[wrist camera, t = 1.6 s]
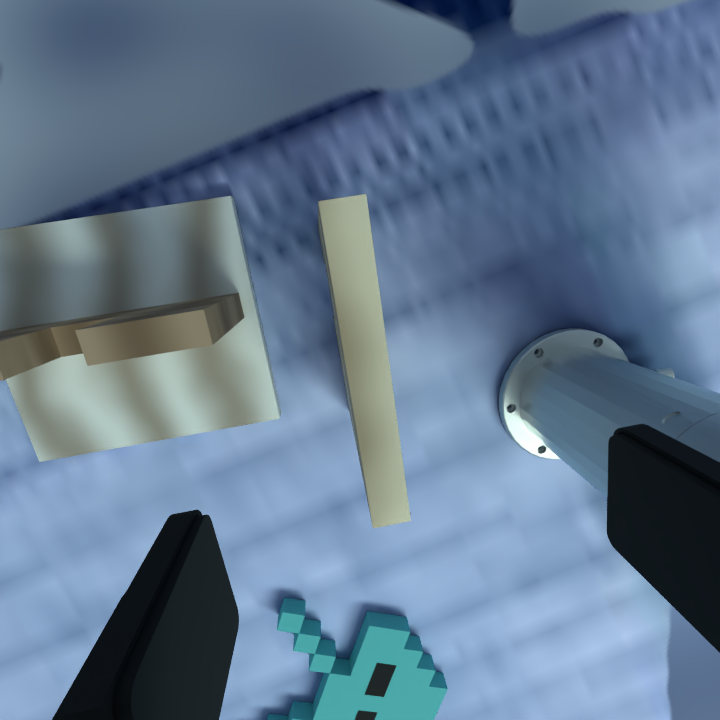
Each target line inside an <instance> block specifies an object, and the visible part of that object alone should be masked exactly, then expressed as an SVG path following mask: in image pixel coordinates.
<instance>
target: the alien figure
mask: <svg viewBox="0 0 720 720" xmlns="http://www.w3.org/2000/svg"><path fill="white" fill-rule="evenodd" d="M304 617H305V601H304V600H298V599H292V598H286V597H284V599H283V603H282V606H281V609H280V612H279V616H278V626H277V630H278V631H285V632H292V633H295V634H294V648H293V651H298V652H305V653H310V654H309V671H315V672H323V676H322V679H321V682H320V685H319V687H318V690H317V693H316V696H315V699H314V701H313V703H307V702H298V701H293V703H292V706H291V709H290V712H289V715H288V716H285V715H276V714H268V717H267V720H434V718H435V716H436V714H437V711H438V709H439V707H440V705H441V703H442V700H443V698H444V696H445V694H446V691H447V685H446V682H445V679H444V675H443V673H440V672H435V671H436V670H435V667H434V663H433V660H432V656H431V655H428V654H423V649H422V645H421V641H420V638H419V636H413V635H409V634H410V629H409V625H408V620H407V617H402V616H396V615H390V614H384V613H378V612H372V611H367V613H366V616H365V618H364V621H363V624H362V626H361V629H360V632H359V634H358V637H357V640H356V643H355V645H354V648H353V651H352V653H351V656H350V659H349V660H348V659H340V658H336V649H335V641H333V640H326V639H320V637H321V621H316V620H310V619H304Z"/></svg>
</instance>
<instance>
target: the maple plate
mask: <svg viewBox="0 0 720 720" xmlns="http://www.w3.org/2000/svg"><path fill="white" fill-rule="evenodd" d="M318 229H319V235H320V241H321V246H322V252H323V258H324V263H325V265H326V271H327V277H328V283H329V289H330V294H331V300H332V306H333V312H334V316H333V317H334V323H335V329H336V335H337V340H338V346H339V352H340V358H341V364H342V370H343V376H344V382H345V387H346V393H347V399H348V405H349V411H350V416H351V421H352V426H353V431H354V436H355V441H356V446H357V451H358V456H359V461H360V466H361V471H362V476H363V481H364V486H365V491H366V496H367V501H368V506H369V511H370V516H371V521H372V526H373V528H377V527H383V526H388V525H393V524H398V523H403V522H408V521H411V519H410V511H409V504H408V497H407V489H406V482H405V475H404V467H403V460H402V453H401V445H400V438H399V431H398V423H397V416H396V409H395V401H394V394H393V387H392V379H391V372H390V365H389V358H388V350H387V343H386V336H385V328H384V321H383V314H382V306H381V299H380V292H379V284H378V277H377V270H376V262H375V255H374V248H373V240H372V233H371V226H370V218H369V211H368V204H367V196H366V194H363V195H357V196H350V197H343V198H336V199H330V200H323V201H318Z"/></svg>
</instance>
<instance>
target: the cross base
mask: <svg viewBox="0 0 720 720" xmlns="http://www.w3.org/2000/svg"><path fill="white" fill-rule="evenodd" d="M5 379H6V381H7V384H8V386H9V388H10V391H11V393H12V396H13V398H14V401H15V403H16V406H17V408H18V410H19V413H20V415H21V418H22V420H23V423H24V425H25V427H26V430H27V432H28V435H29V437H30V440H31V442H32V445H33V447H34V449H35V452H36V454H37V457H38V459H39V462H42V461H47V460H53V459H59V458H64V457H70V456H75V455H81V454H86V453H92V452H97V451H103V450H109V449H114V448H120V447H125V446H131V445H136V444H142V443H147V442H153V441H159V440H164V439H170V438H175V437H181V436H186V435H192V434H197V433H203V432H209V431H214V430H220V429H225V428H231V427H236V426H242V425H247V424H253V423H259V422H264V421H270V420H275V419H280V416H281V410H280V406H279V401H278V397H277V392H276V388H275V383H274V378H273V374H272V369H271V365H270V360H269V356H268V351H267V347H266V342H265V338H264V333H263V328H262V324H261V319H260V315H259V310H258V306H257V301H256V297H255V292H254V288H253V283H252V279H251V274H250V269H249V265H248V260H247V256H246V251H245V247H244V242H243V238H242V233H241V229H240V224H239V219H238V215H237V210H236V206H235V201H234V198H233V197H231V196H226V197H219V198H212V199H206V200H199V201H192V202H185V203H178V204H171V205H165V206H158V207H151V208H144V209H137V210H130V211H123V212H117V213H110V214H103V215H96V216H89V217H82V218H76V219H69V220H62V221H55V222H48V223H41V224H35V225H28V226H21V227H14V228H7V229H0V381H1V380H5Z"/></svg>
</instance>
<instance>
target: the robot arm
mask: <svg viewBox="0 0 720 720" xmlns="http://www.w3.org/2000/svg"><path fill="white" fill-rule="evenodd" d="M535 350H536V352H535ZM534 352H535V353H534ZM508 405H509V406H508ZM507 406H508V407H507ZM499 412H500V417H501V421H502V423H503V425H504V427H505V430H506V431H507V433H508V434H509V435H510V437H511V438H512V439H513V440H514V441H515V442H516V443H517V444H518V445H519V446H520V447H521V448H523V449H524V450H526V451H527V452H529V453H531V454H533V455H535V456H538V457H542V458H547V459H561V460H563V461H564V462H565V463H566V464H567V465H569V466H570V467H571V468H572V469H573V470H575V471H576V472H577V473H578V474H579V475H580V476H582V477H583V478H584V479H585V480H586V481H588V482H589V483H590V484H591V485H592V486H594V487H595V488H596V489H597V490H598V491H599V492H601V493H602V494H603V495H604V496H605V497H607V535H608V538H609V540H610V543H611V544H612V546H613V547H614V548H615V549H616V550H617V551H618V552H619V553H620V554H621V555H622V556H623V557H624V558H625V559H626V560H627V561H628V562H629V563H630V564H631V565H632V566H633V567H634V568H635V569H636V570H637V571H638V572H639V573H640V574H641V575H642V576H643V577H644V578H645V579H646V580H647V581H648V582H649V583H650V584H651V585H652V586H653V587H654V588H655V589H656V590H657V591H658V592H659V593H660V594H661V595H662V596H663V597H664V598H665V599H666V600H667V601H668V602H669V603H670V604H671V605H672V606H673V607H674V608H675V609H676V610H677V611H678V612H679V613H680V614H681V615H682V616H683V617H684V618H685V619H686V620H687V621H688V622H689V623H690V624H692V626H693V627H694V628H695V629H696V630H698V632H699V633H700V634H701V635H702V636H703V637H705V639H706V640H707V641H708V642H709V643H710V644H712V645H713V646H714V647H715V648H716V649H717V650H718V651H719V652H720V394H719V393H716V392H713V391H710V390H708V389H705V388H702V387H699V386H696V385H693V384H690V383H687V382H684V381H682V380H679V379H676V378H675V376H674V372H673V371H672V370H671V369H670V368H660V369H655V370H650V369H647V368H644V367H641V366H638V365H635V364H632V363H630V362H629V360H628V358H627V356H626V355H625V353H624V352H623V350H622V349H621V348H620V347H619V346H618V345H617V344H616V343H615V342H614V341H613V340H611V339H610V338H608V337H607V336H605V335H602V334H600V333H597V332H594V331H590V330H586V329H581V328H567V329H561V330H556V331H553V332H550V333H548V334H545V335H543V336H541V337H539V338H538V339H536V340H534V341H533V342H531V343H530V344H529V345H528V346H526V347H525V348H524V349H523V350H522V351H521V352H520V353H519V354H518V355H517V356H516V358H515V359H514V360H513V361H512V363H511V365H510V366H509V368H508V370H507V371H506V373H505V376H504V378H503V381H502V384H501V388H500V393H499ZM238 626H239V615H238V609H237V605H236V602H235V598H234V595H233V592H232V588H231V585H230V581H229V578H228V575H227V571H226V568H225V565H224V561H223V558H222V554H221V551H220V548H219V544H218V541H217V538H216V534H215V531H214V528H213V524H212V521H211V518H210V516H209V515H203V516H202V513H201V512H200V511H199V510H193V511H188V512H183V513H177V514H173V515H170V516H169V518H168V519H167V521H166V523H165V524H164V526H163V528H162V530H161V531H160V533H159V535H158V537H157V538H156V540H155V542H154V544H153V545H152V547H151V549H150V551H149V553H148V554H147V556H146V558H145V560H144V561H143V563H142V565H141V567H140V568H139V570H138V572H137V574H136V576H135V577H134V579H133V581H132V583H131V584H130V586H129V588H128V590H127V591H126V593H125V594H124V595H123V597H122V598H121V600H120V601H119V603H118V605H117V607H116V609H115V610H114V612H113V614H112V616H111V617H110V619H109V621H108V623H107V624H106V626H105V628H104V630H103V631H102V633H101V635H100V637H99V638H98V640H97V642H96V644H95V645H94V647H93V649H92V651H91V652H90V654H89V656H88V658H87V659H86V661H85V663H84V665H83V666H82V668H81V670H80V672H79V673H78V675H77V677H76V679H75V680H74V682H73V684H72V686H71V687H70V689H69V691H68V693H67V694H66V696H65V698H64V700H63V701H62V703H61V705H60V707H59V708H58V710H57V712H56V714H55V715H54V717H53V719H52V720H219V717H220V712H221V707H222V702H223V698H224V693H225V688H226V684H227V679H228V674H229V669H230V665H231V660H232V655H233V651H234V646H235V641H236V636H237V632H238Z"/></svg>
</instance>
